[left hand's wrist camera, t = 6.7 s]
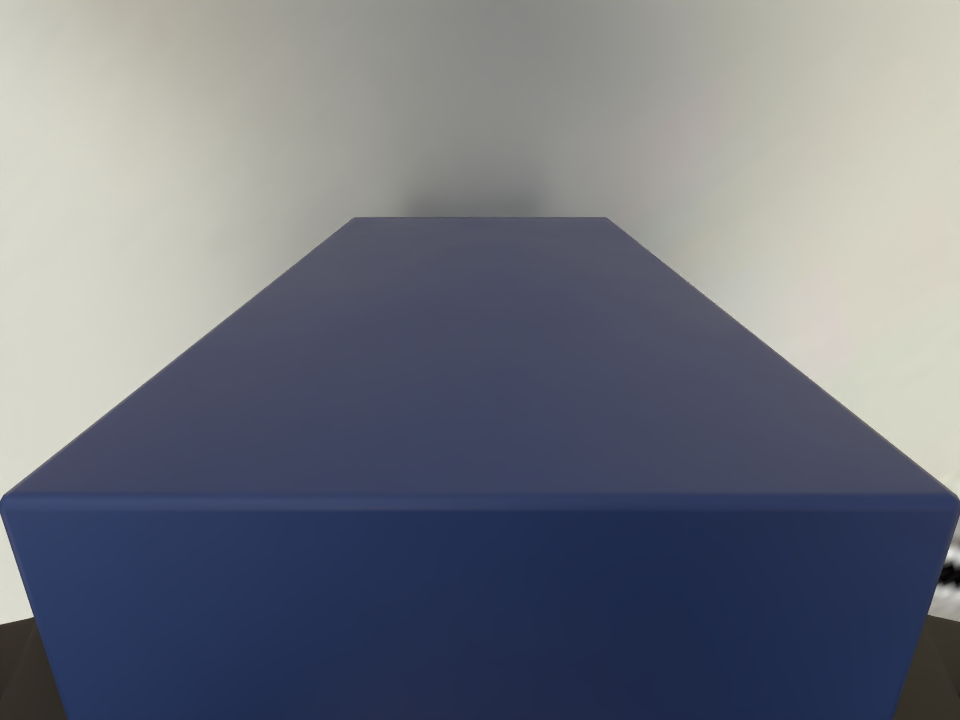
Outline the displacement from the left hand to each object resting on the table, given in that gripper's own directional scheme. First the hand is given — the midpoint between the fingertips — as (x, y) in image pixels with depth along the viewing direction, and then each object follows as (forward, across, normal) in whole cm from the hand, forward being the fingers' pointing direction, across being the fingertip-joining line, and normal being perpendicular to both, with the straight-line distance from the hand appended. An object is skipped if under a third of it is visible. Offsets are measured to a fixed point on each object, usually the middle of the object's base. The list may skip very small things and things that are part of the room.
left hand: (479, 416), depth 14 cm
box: (+3, 0, -9) cm, 9 cm away
